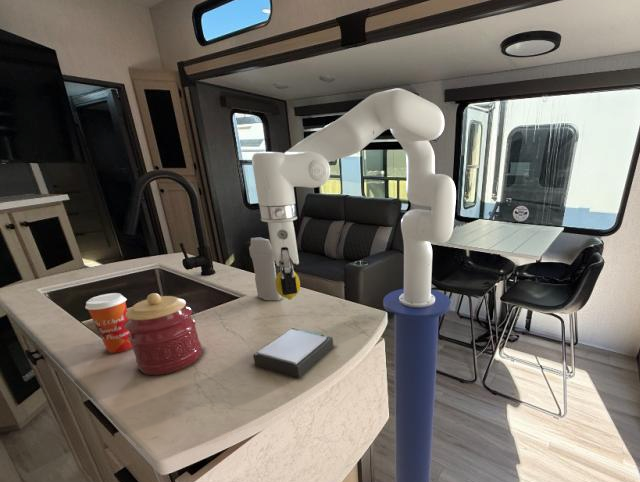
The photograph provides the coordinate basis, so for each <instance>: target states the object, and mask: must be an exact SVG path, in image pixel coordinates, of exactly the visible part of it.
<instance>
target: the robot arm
mask: <svg viewBox="0 0 640 482" xmlns="http://www.w3.org/2000/svg"><path fill="white" fill-rule="evenodd" d="M444 129H445V117H444V114H443V111H442V110H441V108H440V107H439V106H438V105H436V103H434V102H431V101H429V100H428V99H425V98H424V97H421V96H419V95H418V94H415V93H413V92H411V91H409V90H406V89H404V88H392V89H387V90H382V91H378V92H374V93H372V94H370V95H369V96H367V97H366V98H364V99H363V100H362V101H360V102H359V103H358V104H357V105H355V106H354V107H353V108H351V109H350V110H349V111H347V112H346V113H344V114H343V115H341V116H340V117H338V118H337V119H335V121H332V122H330V123H329V124H327V125H325V126H323V127H322V128H321V129H319V130H317V131H315V132H313V133H311V134H310V135H308V136H306V137H305V138H303V139H302V140H300V141H298V142H297V143H296V144H295V145H293V146H292V147H290V148H289V149H288V150H286V151H285V152H281V151H280V152H279V151H260V152H259V151H258V152H256V153H253V155H252V158H251V162H252V170H253V176H254V177H253V178H254V182H255V190H256V195H257V203H258V208H259V214H260V221H261V222H262V223H263V222H264V223H267V227H268V235H269V241H270V244H271V247H272V250H273V254H274V258H275V261H274V262H275V264H276V266H277V267H279V269H278V273H279V272H280V271H281V277H282V278H280V279H281V286H282V293H283V295H288V294H295V293H297V286H296V278H295V276H294V272H295V271H294V265H299V264H300V260H299V253H298V244H297V237H296V231H295V226H294V221H296V220H298V213H297V203H296V196H295V195H296V194H295V189H294V188H295V187H299V188H300V187H301V188H309V189H314V188H319V187H323V186H324V185H325V184H326V183H327V182H328V181H329V180H330V177H331V166H330V163H331V162H333V161H336V160H340V159H344V158H346V157H347V158H348V157H350V156H352V155H353V156H354V155H355V154H357V153H359V152H361V151H362V150H363V149H364V148H366V147H367V146H368V145H369V144H370V143H371V142H373V141H374V140H375V139H377V137H379V136H380V135H381V134H382V133H384V132H385V131H387V130H390V133H391V134H392V137H394V139H395V140H396V141H397V142H398V143H399V144H400V146H401V147H402V149H403V152H404V155H405V158H406V185H405V187H406V188H405V189H406V191H405V193H406V198H407V200H408V202H409V203H410V204H412V205H415V206H421V207H423V206H424V207H429V208H431V210H427V209H421V208H415V209H414V208H413V209H409V210H408V211H406V212H405V213H404V214H403V216H402V218H401V220H400V230H401V235H402V241H403V289H404V293H403V294H401V295H400V297H399V301H400V302H401V303H402V304H403V305H405V306H408V307H415V308H421V307H427V306H430V305H432V304H433V303H434V302H435V297H434V296H433V295H432V294H431V290H432V273H433V248H432V245H431V244H436V245H442V244H446V243H447V242H449V241H450V239H451V237H452V235H453V232H454V225H455V215H456V214H455V213H456V200H457V190H456V185H455V181H454V180H453V179H452V177H450V176H449V175H447V174H445V173H436V171H435V170H436V162H435V161H436V158H435V151H434V149H433V147H432V144H431V143H430V141H435V140H436V139H438V138H439V137H440V136H441V135H442V133H443V132H444Z"/></svg>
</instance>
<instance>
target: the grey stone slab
mask: <svg viewBox="0 0 640 482" xmlns="http://www.w3.org/2000/svg"><path fill="white" fill-rule="evenodd" d="M248 249H249V256H250V258H251V260H252V266H253V270H254V281H255V288H256V295H257V298H259V299H262V300H264V301H281V295H280V294H279V293H278V292H277V289H276V277H277V272H276V271H277V270H276V265H275V264H276V261H275V258H274V254H273V250H272V246H271V240H270V239H266V238H263V237H251V238H250V246H249V247H248Z"/></svg>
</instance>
